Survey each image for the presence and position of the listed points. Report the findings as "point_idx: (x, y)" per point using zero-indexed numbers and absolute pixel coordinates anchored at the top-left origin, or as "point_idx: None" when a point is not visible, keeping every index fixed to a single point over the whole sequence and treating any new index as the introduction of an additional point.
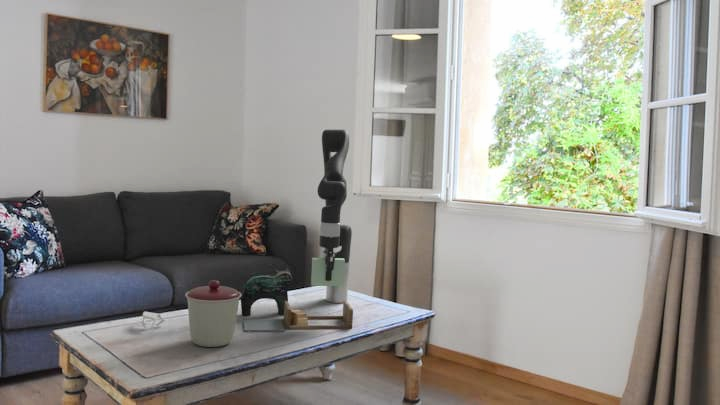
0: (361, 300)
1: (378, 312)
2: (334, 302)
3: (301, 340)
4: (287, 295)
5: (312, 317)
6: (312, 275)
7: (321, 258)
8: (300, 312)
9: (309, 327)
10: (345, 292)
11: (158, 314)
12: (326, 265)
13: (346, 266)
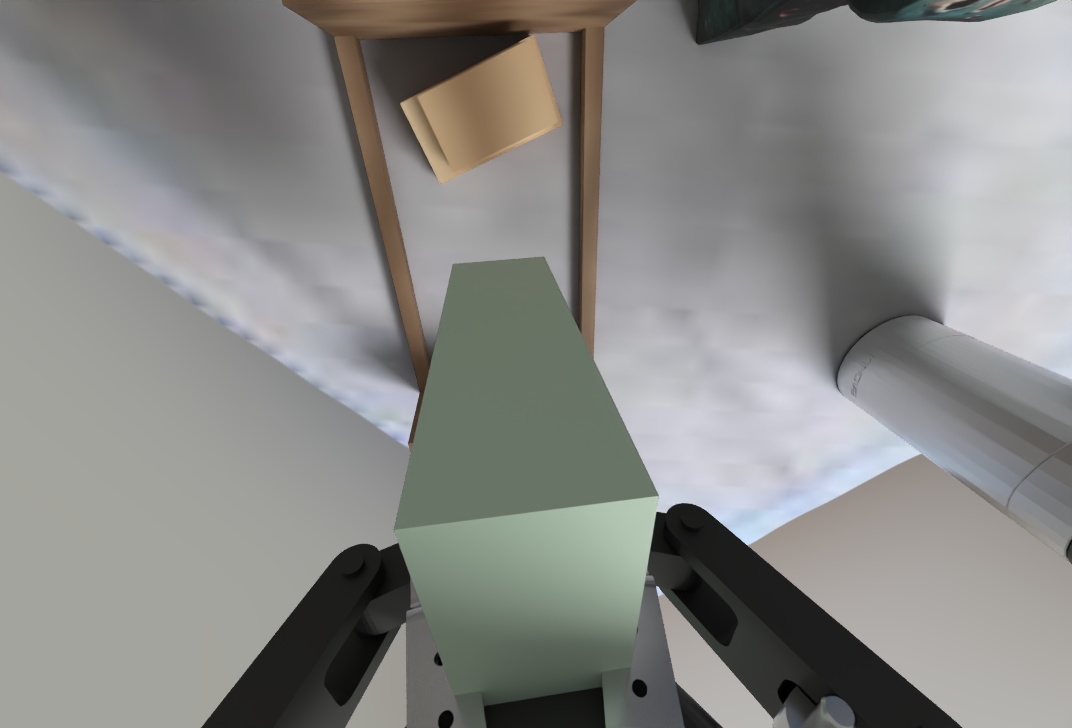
0: (846, 449)
1: (664, 490)
2: (850, 350)
3: (93, 109)
4: (775, 4)
5: (582, 220)
6: (452, 310)
7: (580, 649)
8: (481, 129)
9: (371, 186)
10: (878, 420)
11: None
12: (414, 600)
13: (1036, 533)
